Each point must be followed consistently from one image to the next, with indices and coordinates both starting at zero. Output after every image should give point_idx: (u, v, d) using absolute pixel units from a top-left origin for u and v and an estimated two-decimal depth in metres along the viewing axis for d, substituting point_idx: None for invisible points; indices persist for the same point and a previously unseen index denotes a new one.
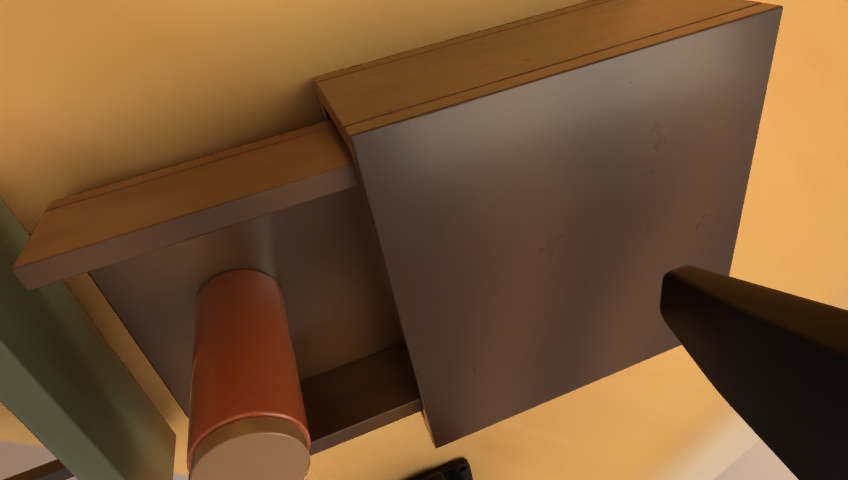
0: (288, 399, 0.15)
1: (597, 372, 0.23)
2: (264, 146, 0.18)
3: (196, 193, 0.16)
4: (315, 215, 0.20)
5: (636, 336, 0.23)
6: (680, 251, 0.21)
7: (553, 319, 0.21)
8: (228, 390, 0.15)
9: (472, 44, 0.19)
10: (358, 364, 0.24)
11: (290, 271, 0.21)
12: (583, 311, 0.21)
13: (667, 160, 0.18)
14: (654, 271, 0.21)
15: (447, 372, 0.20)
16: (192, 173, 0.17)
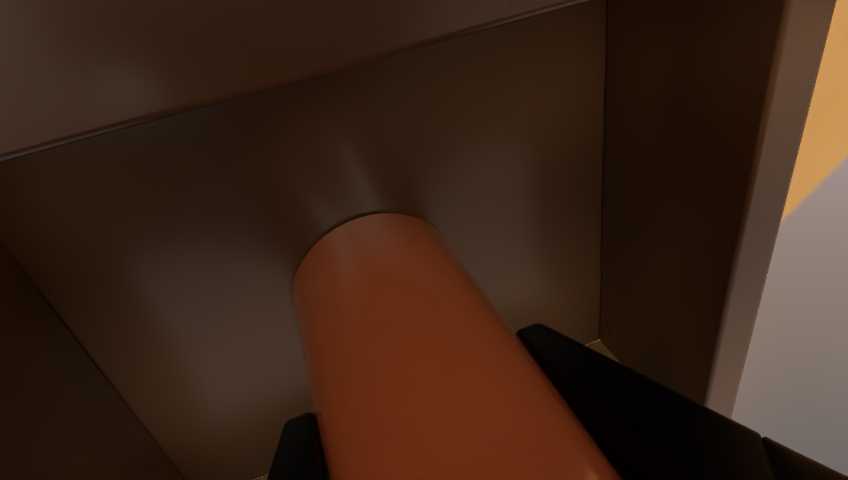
0: None
1: None
2: None
3: None
4: (143, 149, 0.08)
5: None
6: None
7: None
8: None
9: None
10: (616, 44, 0.09)
11: (309, 201, 0.09)
12: None
13: None
14: None
15: None
16: None
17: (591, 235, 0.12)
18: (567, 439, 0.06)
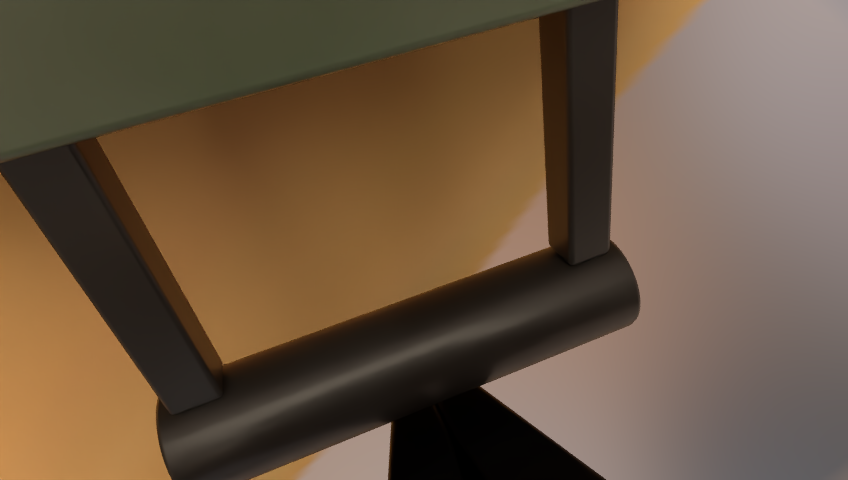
0: None
1: None
2: None
3: None
4: None
5: None
6: None
7: None
8: None
9: None
10: None
11: None
12: None
13: None
14: None
15: None
16: None
17: None
18: None
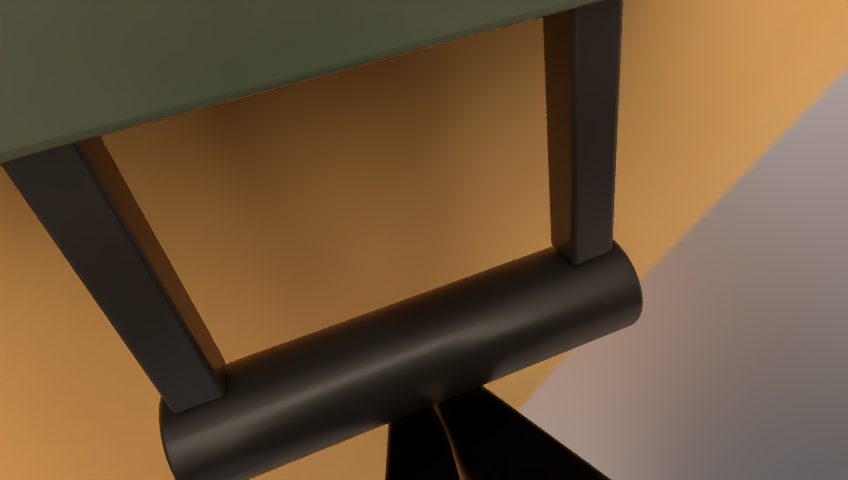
0: None
1: None
2: None
3: None
4: None
5: None
6: None
7: None
8: None
9: None
10: None
11: None
12: None
13: None
14: None
15: None
16: None
17: None
18: None
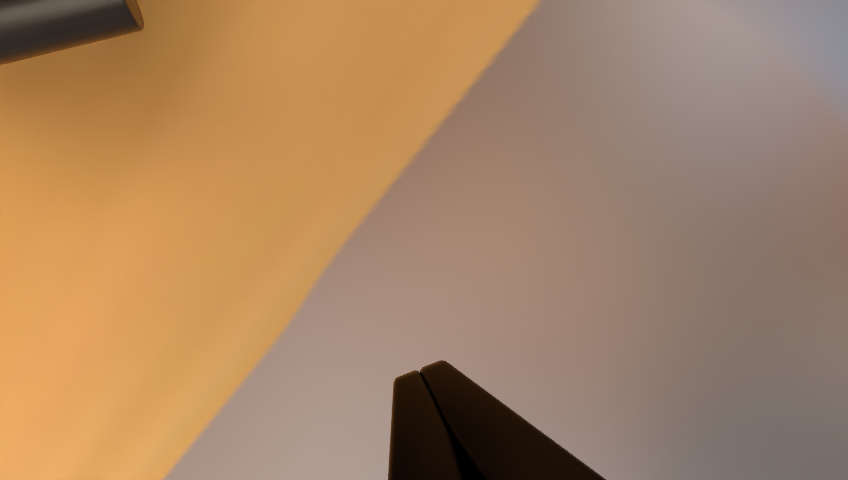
0: None
1: None
2: None
3: None
4: None
5: None
6: None
7: None
8: None
9: None
10: None
11: None
12: None
13: None
14: None
15: None
16: None
17: None
18: None
